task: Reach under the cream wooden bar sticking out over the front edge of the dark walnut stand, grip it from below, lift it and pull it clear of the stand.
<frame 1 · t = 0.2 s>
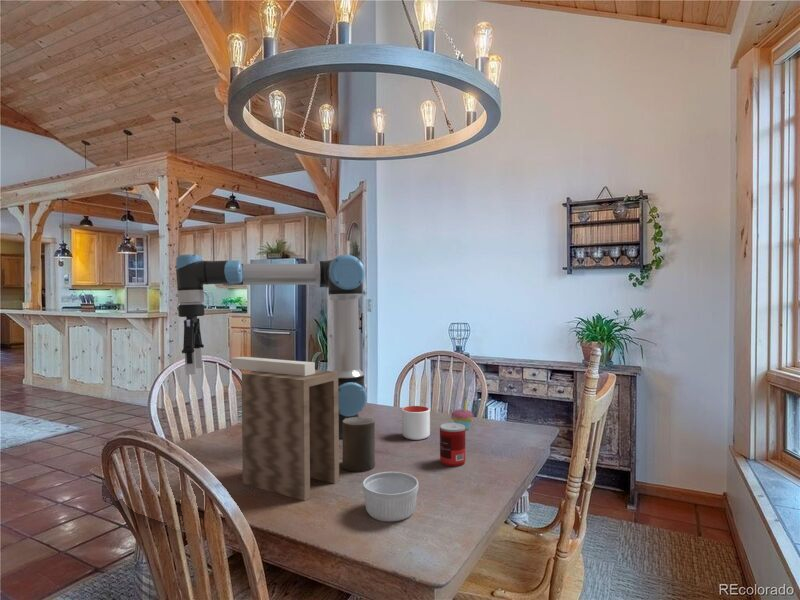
hand: (194, 371, 147), 27 cm above the table, tool pointing down, fingers open, 13 cm apart
bar: (271, 370, 130), point 30 cm above the table, touching stand
ramekin: (390, 512, 110), on the table
stand: (291, 482, 127), on the table
cupcake: (462, 428, 178), on the table
pillar candle: (359, 466, 139), on the table
cup: (416, 437, 168), on the table
canned food: (452, 462, 142), on the table
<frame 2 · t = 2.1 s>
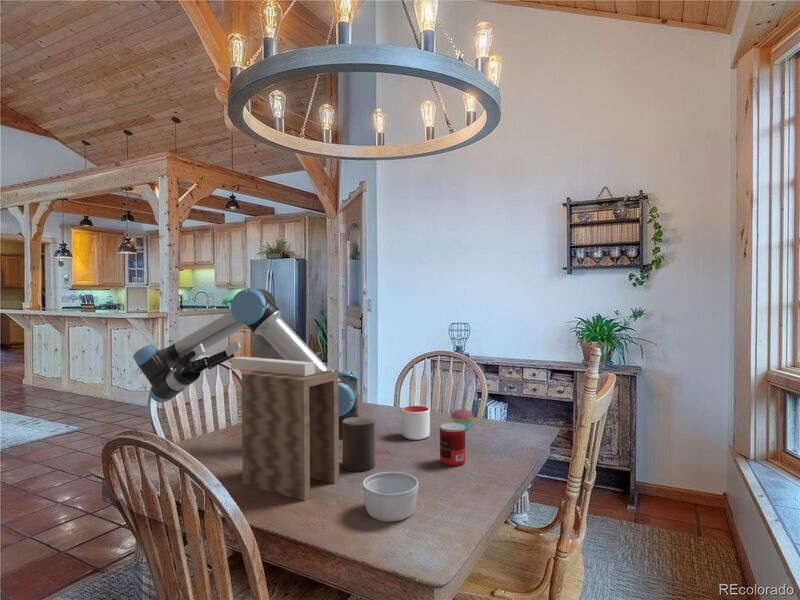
hand: (221, 345, 145), 36 cm above the table, tool pointing upward, fingers open, 13 cm apart
nothing on the table moved.
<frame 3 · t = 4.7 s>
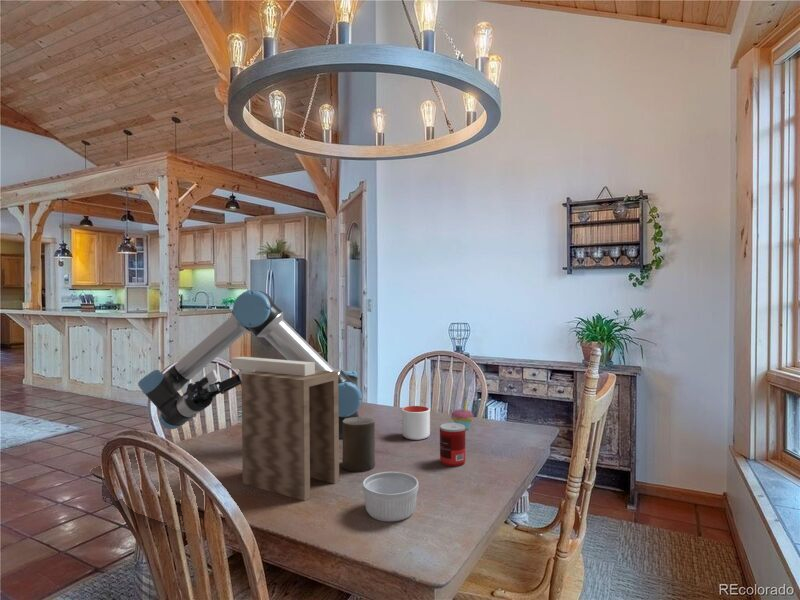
hand: (235, 370, 137), 29 cm above the table, tool pointing upward, fingers open, 13 cm apart
nothing on the table moved.
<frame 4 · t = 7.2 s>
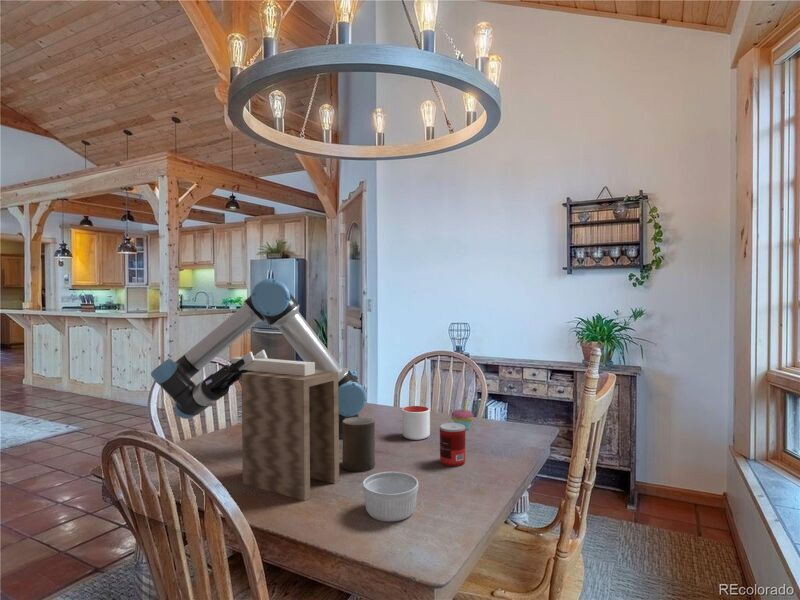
hand: (258, 355, 133), 34 cm above the table, tool pointing upward, fingers closed on bar, 4 cm apart
bar: (271, 370, 130), point 30 cm above the table, touching gripper, stand
everything else where it was.
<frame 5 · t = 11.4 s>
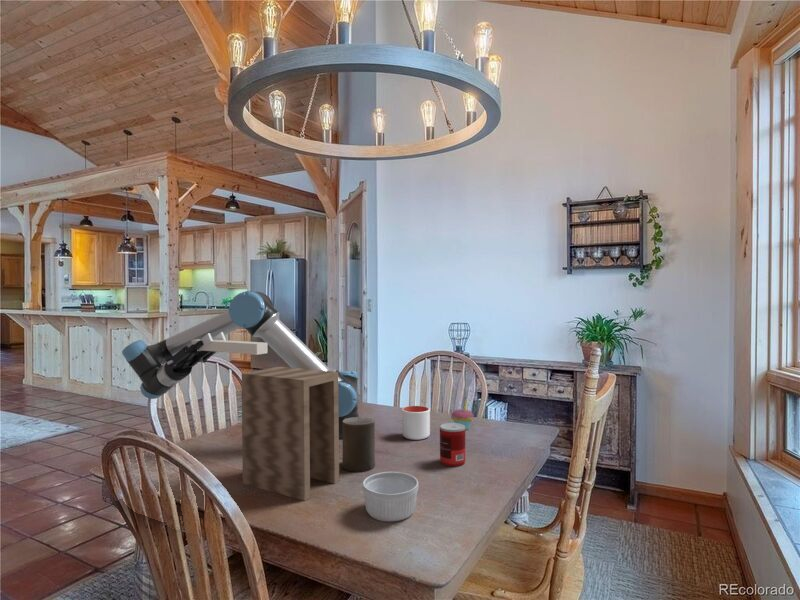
hand: (216, 336, 141), 39 cm above the table, tool pointing upward, fingers closed on bar, 4 cm apart
bar: (228, 351, 139), point 35 cm above the table, touching gripper
everything else where it was.
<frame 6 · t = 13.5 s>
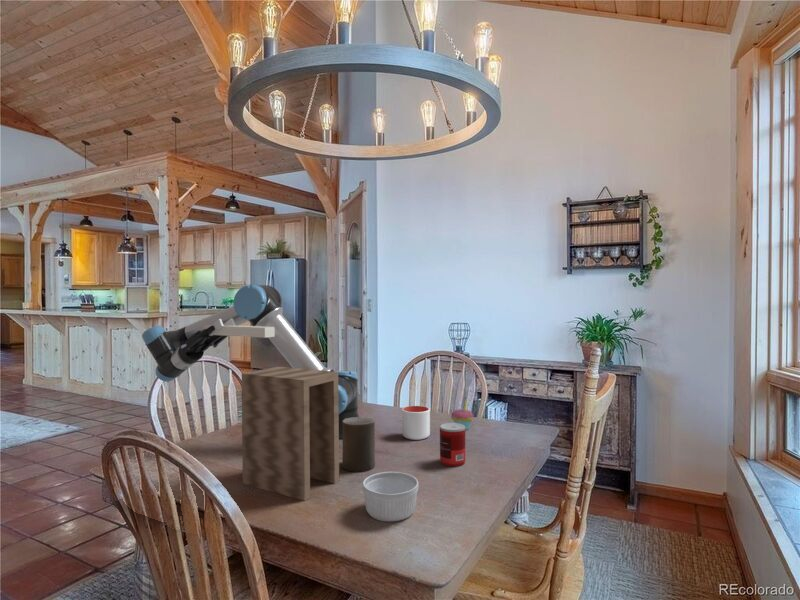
hand: (227, 322, 152), 43 cm above the table, tool pointing upward, fingers closed on bar, 4 cm apart
bar: (237, 335, 149), point 38 cm above the table, touching gripper
everything else where it was.
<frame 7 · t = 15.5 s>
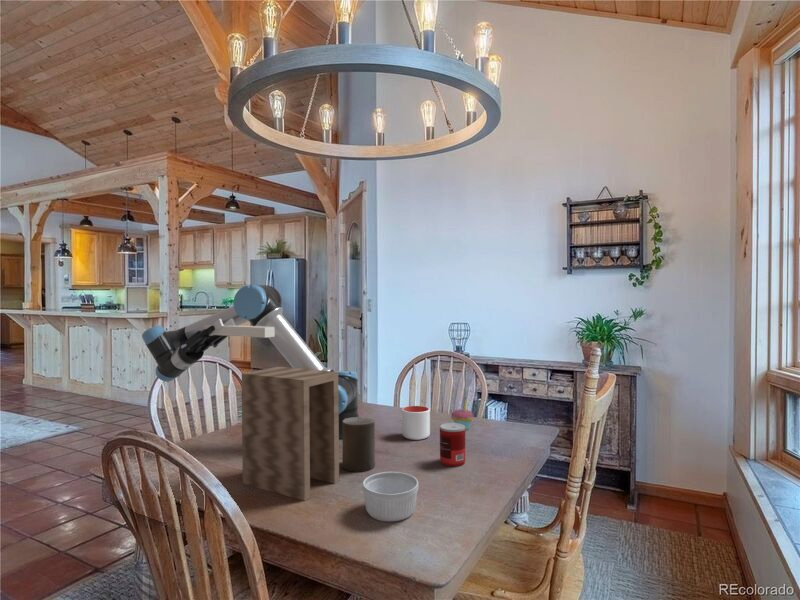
hand: (227, 322, 152), 43 cm above the table, tool pointing upward, fingers closed on bar, 4 cm apart
bar: (237, 335, 149), point 38 cm above the table, touching gripper
everything else where it was.
at the end: the gripper is holding bar; bar touching gripper; bar moved 26.0 cm from its start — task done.
